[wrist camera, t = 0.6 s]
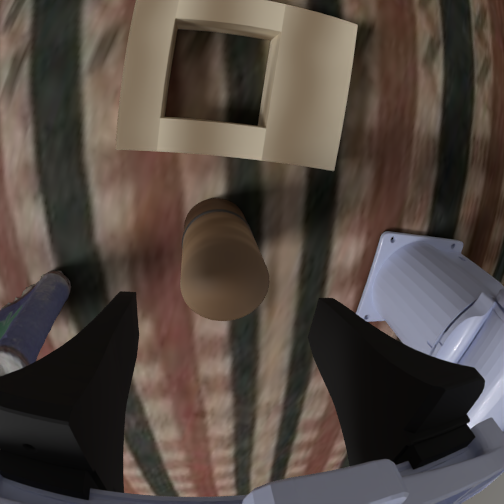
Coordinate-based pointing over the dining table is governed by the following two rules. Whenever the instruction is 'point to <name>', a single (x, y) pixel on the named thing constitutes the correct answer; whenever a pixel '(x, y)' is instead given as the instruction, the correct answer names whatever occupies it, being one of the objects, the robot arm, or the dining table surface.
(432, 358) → the robot arm
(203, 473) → the dining table surface
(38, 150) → the dining table surface
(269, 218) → the dining table surface
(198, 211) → the peg
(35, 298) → the flask
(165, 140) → the board
